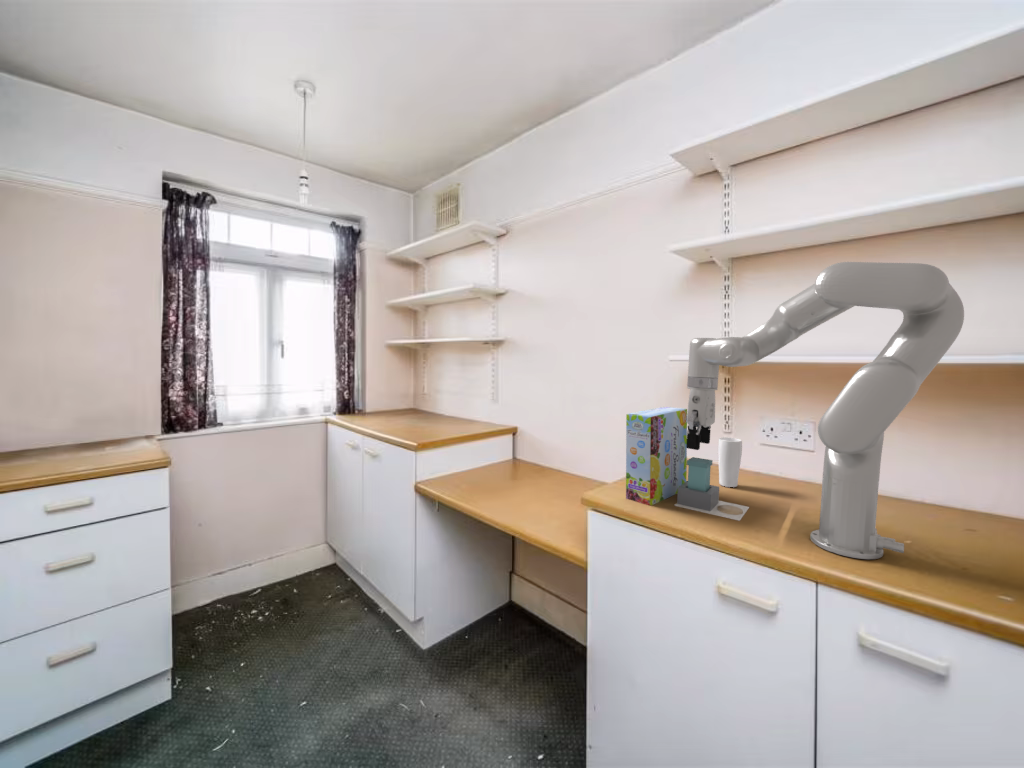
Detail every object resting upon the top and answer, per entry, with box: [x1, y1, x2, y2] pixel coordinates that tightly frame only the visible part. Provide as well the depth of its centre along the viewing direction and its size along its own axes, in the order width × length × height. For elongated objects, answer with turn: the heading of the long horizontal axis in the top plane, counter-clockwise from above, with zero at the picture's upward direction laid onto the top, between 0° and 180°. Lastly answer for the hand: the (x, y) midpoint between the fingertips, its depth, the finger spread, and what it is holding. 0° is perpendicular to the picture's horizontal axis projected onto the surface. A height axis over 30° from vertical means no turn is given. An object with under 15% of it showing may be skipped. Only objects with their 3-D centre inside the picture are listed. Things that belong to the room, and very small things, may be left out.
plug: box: [687, 456, 713, 492], centre depth 115 cm, size 5×5×12 cm
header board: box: [674, 480, 750, 522], centre depth 113 cm, size 16×12×6 cm
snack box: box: [625, 406, 688, 506], centre depth 123 cm, size 22×9×26 cm, turn 132°
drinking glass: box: [717, 436, 743, 488], centre depth 134 cm, size 7×7×15 cm
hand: (698, 445), depth 115 cm, fingers open, 9 cm apart
